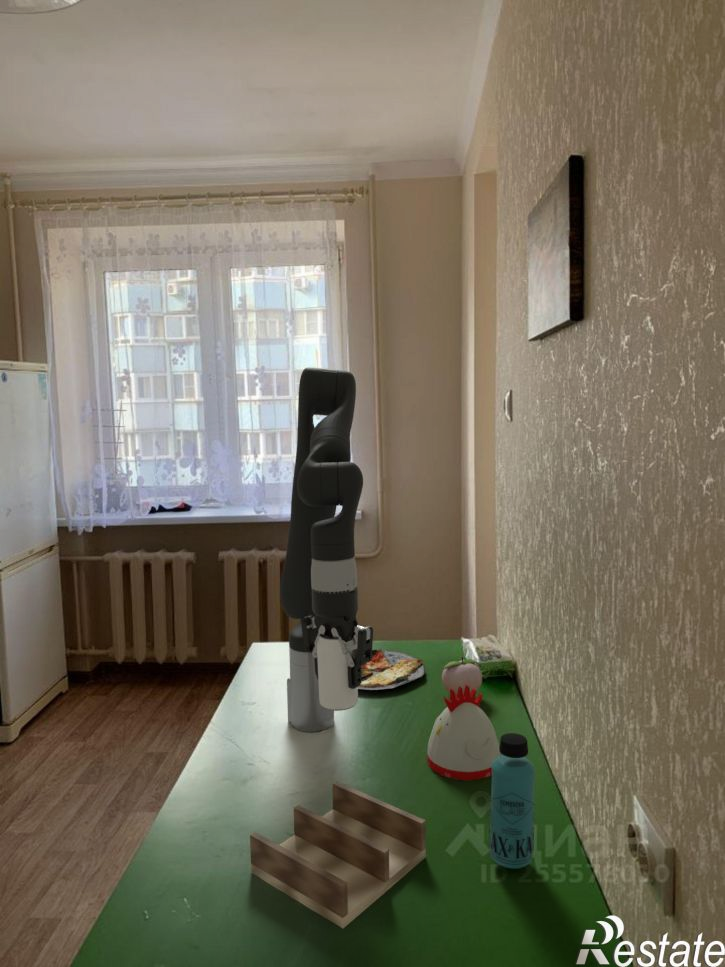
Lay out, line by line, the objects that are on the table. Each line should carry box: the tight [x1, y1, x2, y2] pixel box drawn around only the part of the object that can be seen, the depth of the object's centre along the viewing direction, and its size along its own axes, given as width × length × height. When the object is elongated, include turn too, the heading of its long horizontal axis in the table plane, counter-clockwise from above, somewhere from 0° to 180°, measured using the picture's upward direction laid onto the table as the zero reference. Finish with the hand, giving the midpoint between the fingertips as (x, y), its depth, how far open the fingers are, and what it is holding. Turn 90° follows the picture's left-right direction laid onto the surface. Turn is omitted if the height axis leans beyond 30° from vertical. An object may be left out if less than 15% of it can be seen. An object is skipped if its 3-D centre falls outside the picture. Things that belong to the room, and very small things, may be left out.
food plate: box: [358, 648, 426, 692], centre depth 182 cm, size 25×23×4 cm
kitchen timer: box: [426, 685, 501, 781], centre depth 138 cm, size 14×14×15 cm
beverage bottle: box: [488, 732, 536, 869], centre depth 107 cm, size 6×7×20 cm
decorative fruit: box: [441, 656, 483, 697], centre depth 166 cm, size 9×8×10 cm
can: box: [317, 634, 359, 712], centre depth 121 cm, size 6×6×12 cm
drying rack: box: [249, 780, 427, 929], centre depth 108 cm, size 18×19×6 cm
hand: (338, 682), depth 121 cm, fingers closed on can, 6 cm apart
